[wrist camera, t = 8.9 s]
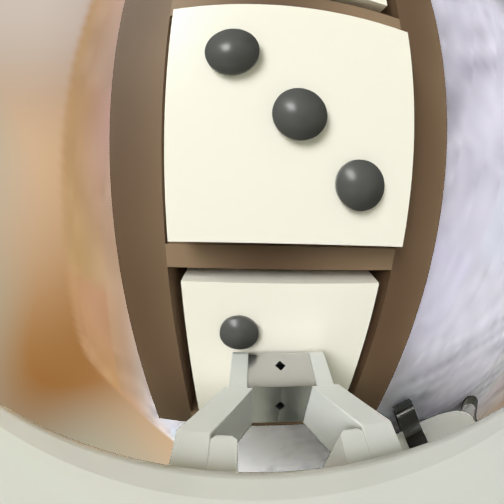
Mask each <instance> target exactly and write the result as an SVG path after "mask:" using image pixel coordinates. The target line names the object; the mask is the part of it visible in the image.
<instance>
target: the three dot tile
mask: <svg viewBox="0 0 504 504" xmlns="http://www.w3.org/2000/svg"><path fill="white" fill-rule="evenodd" d="M413 152H414V90H413V74H412V63H411V53H410V45H409V38H408V32H405V31H402V30H399V29H396V28H393V27H390V26H387V25H384V24H381V23H377V22H374V21H370V20H366V19H362V18H358V17H354V16H350V15H345V14H340V13H335V12H330V11H324V10H318V9H311V8H303V7H294V6H283V5H267V4H223V5H207V6H196V7H187V8H179V9H174V10H173V17H172V24H171V33H170V42H169V52H168V64H167V77H166V94H165V122H164V177H165V205H166V224H167V239H168V242H233V243H282V244H323V245H359V246H391V247H402V246H403V241H404V235H405V229H406V222H407V215H408V208H409V200H410V191H411V181H412V168H413Z"/></svg>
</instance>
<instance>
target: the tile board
mask: <svg viewBox="0 0 504 504" xmlns="http://www.w3.org/2000/svg"><path fill="white" fill-rule="evenodd" d="M386 1H387V7H385V8H384V9H383V10H382V11H381V12H380V13H379V12H375V11H372V10H368V9H365V8H361V7H357V6H353V5H348V4H344V3H339V2H334V1H328V0H125V3H124V8H123V12H122V17H121V22H120V28H119V33H118V40H117V46H116V53H115V61H114V70H113V79H112V92H111V108H110V179H111V196H112V208H113V219H114V229H115V237H116V245H117V252H118V259H119V266H120V272H121V278H122V283H123V289H124V294H125V299H126V304H127V309H128V313H129V318H130V322H131V326H132V330H133V334H134V338H135V342H136V346H137V350H138V353H139V357H140V361H141V364H142V367H143V371H144V374H145V377H146V381H147V384H148V387H149V390H150V393H151V396H152V399H153V402H154V404H155V407H156V410H157V413H158V415H159V418H164V419H171V420H178V421H188V420H189V419H190V418H191V417H192V416H193V415H194V414H196V413H197V412H198V411H199V410H200V409H199V408H198V402H197V397H196V391H195V386H194V380H193V374H192V367H191V361H190V354H189V347H188V340H187V332H186V324H185V316H184V307H183V298H182V288H181V280H182V278H183V276H184V274H185V272H186V270H187V268H225V269H277V270H368V271H369V272H370V273H371V274H372V275H373V277H374V278H375V279H376V280H377V281H378V282H379V286H378V291H377V295H376V299H375V303H374V307H373V311H372V315H371V319H370V323H369V327H368V330H367V334H366V337H365V341H364V344H363V347H362V351H361V354H360V357H359V360H358V363H357V366H356V369H355V372H354V375H353V378H352V381H351V384H350V386H349V389H348V391H349V392H350V393H351V394H353V395H354V396H356V397H357V398H358V399H360V400H361V401H363V402H364V403H366V404H367V405H368V406H370V407H371V408H373V409H374V410H377V408H378V406H379V404H380V402H381V400H382V398H383V396H384V394H385V392H386V390H387V388H388V386H389V383H390V381H391V379H392V377H393V375H394V372H395V370H396V368H397V365H398V363H399V361H400V358H401V356H402V353H403V351H404V348H405V346H406V343H407V340H408V338H409V335H410V332H411V329H412V326H413V323H414V321H415V318H416V314H417V311H418V308H419V305H420V302H421V298H422V295H423V292H424V288H425V284H426V281H427V277H428V273H429V269H430V265H431V260H432V256H433V251H434V247H435V242H436V236H437V231H438V225H439V219H440V213H441V206H442V198H443V190H444V180H445V167H446V149H447V106H446V88H445V77H444V68H443V60H442V52H441V46H440V40H439V35H438V30H437V25H436V20H435V16H434V12H433V8H432V4H431V0H386ZM223 4H267V5H283V6H294V7H303V8H311V9H318V10H324V11H330V12H335V13H340V14H345V15H350V16H354V17H358V18H362V19H366V20H370V21H374V22H377V23H381V24H384V25H387V26H390V27H393V28H396V29H399V30H402V31H405V32H408V38H409V45H410V53H411V63H412V74H413V90H414V152H413V168H412V181H411V191H410V200H409V208H408V215H407V222H406V229H405V235H404V241H403V246H402V247H391V246H359V245H323V244H282V243H233V242H168V239H167V224H166V205H165V177H164V122H165V94H166V77H167V64H168V52H169V42H170V33H171V24H172V17H173V10H174V9H179V8H187V7H196V6H207V5H223ZM295 424H304V423H303V421H297V422H264V423H252V424H251V425H252V426H265V425H295Z"/></svg>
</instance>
